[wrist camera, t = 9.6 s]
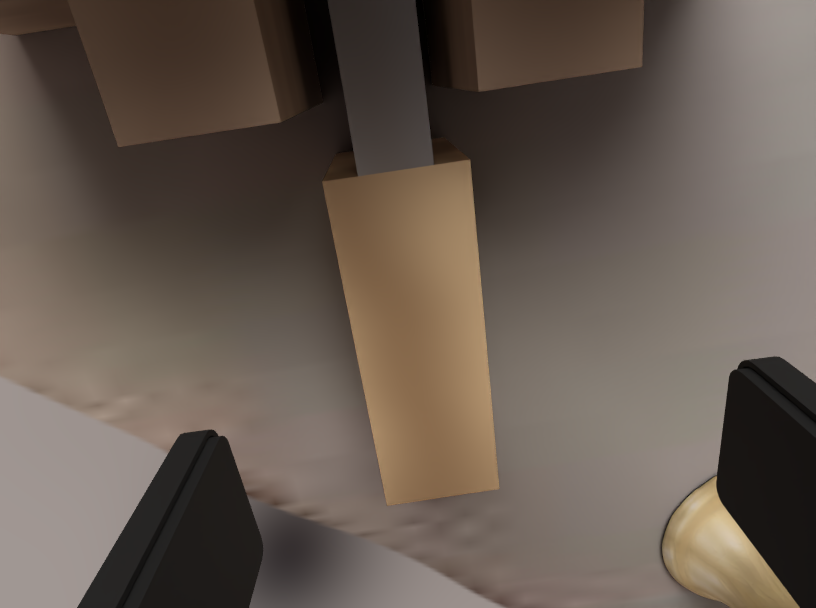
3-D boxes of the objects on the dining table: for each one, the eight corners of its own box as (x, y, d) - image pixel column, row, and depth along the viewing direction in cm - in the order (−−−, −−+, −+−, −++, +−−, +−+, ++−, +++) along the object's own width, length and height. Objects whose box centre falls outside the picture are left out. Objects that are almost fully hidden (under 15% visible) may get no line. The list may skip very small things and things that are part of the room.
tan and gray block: (429, -6, 15) (452, -40, 11) (472, 399, 21) (499, 489, 16) (310, 12, 15) (282, -15, 11) (384, 411, 21) (386, 505, 16)
